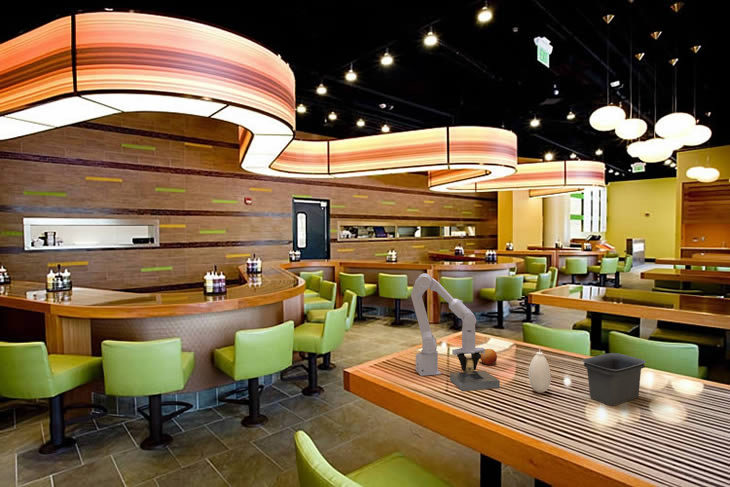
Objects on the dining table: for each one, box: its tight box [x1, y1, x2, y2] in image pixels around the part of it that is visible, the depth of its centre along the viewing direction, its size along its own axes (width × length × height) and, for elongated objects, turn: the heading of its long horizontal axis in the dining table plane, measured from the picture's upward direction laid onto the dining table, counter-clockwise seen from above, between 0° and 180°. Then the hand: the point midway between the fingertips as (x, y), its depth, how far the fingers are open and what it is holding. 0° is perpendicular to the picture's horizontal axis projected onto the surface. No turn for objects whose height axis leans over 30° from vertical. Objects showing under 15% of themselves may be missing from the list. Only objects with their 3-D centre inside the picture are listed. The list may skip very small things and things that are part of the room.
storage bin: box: [582, 352, 647, 407], centre depth 146 cm, size 21×16×14 cm
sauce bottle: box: [528, 345, 552, 394], centre depth 152 cm, size 8×8×18 cm
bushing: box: [463, 356, 475, 372], centre depth 172 cm, size 4×4×7 cm
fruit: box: [479, 348, 498, 366], centre depth 187 cm, size 8×8×8 cm
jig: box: [449, 370, 501, 392], centre depth 160 cm, size 16×12×3 cm
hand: (468, 370), depth 172 cm, fingers closed on bushing, 4 cm apart
